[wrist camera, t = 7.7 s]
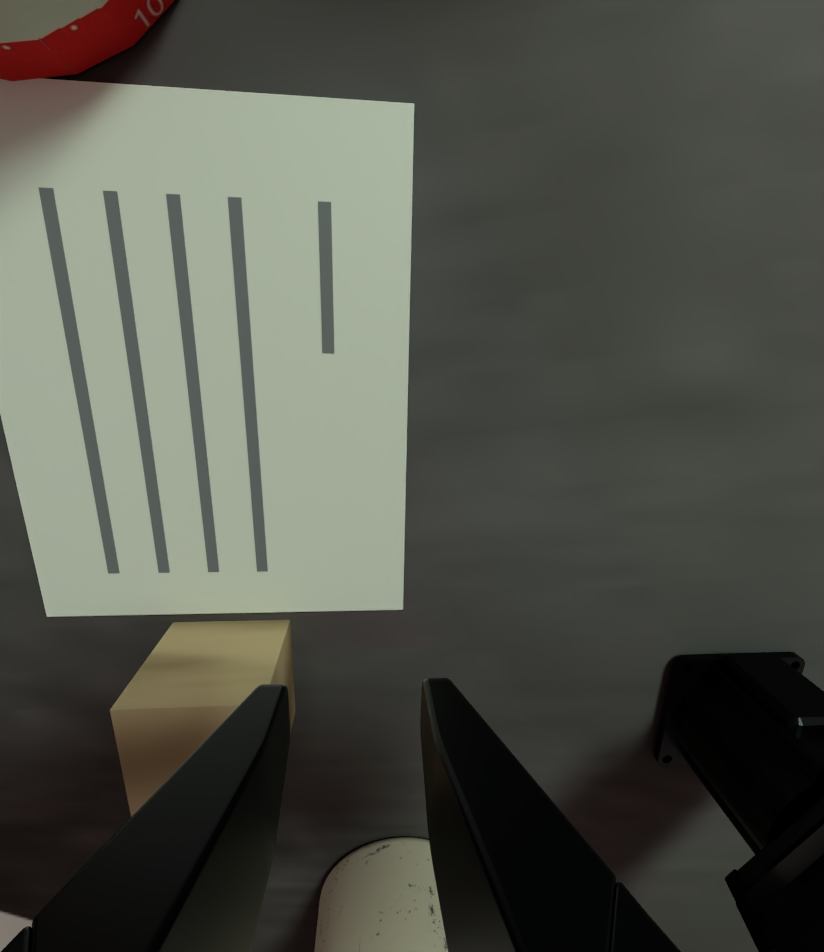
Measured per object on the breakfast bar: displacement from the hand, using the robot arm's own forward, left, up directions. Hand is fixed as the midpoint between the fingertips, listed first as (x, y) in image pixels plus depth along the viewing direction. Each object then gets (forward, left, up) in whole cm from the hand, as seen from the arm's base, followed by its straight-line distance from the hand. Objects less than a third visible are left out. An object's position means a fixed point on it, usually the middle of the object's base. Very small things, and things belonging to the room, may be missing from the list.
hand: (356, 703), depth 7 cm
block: (-9, +6, -12) cm, 16 cm away
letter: (+3, +6, -12) cm, 14 cm away
